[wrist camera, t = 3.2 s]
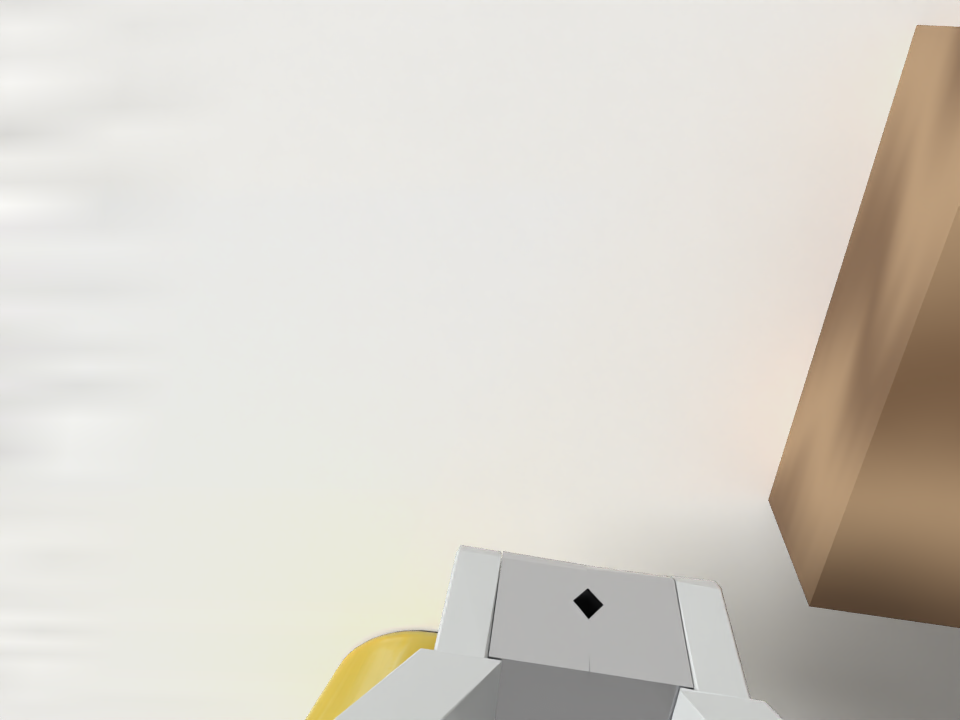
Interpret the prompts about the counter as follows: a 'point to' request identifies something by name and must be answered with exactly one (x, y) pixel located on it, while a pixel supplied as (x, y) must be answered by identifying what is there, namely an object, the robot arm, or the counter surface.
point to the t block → (889, 376)
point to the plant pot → (367, 670)
